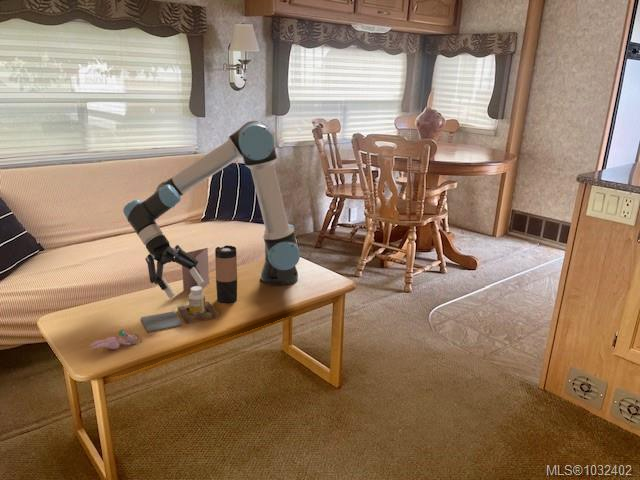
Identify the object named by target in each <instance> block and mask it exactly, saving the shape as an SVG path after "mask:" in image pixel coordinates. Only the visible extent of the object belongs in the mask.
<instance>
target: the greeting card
mask: <svg viewBox="0 0 640 480" xmlns="http://www.w3.org/2000/svg"><path fill="white" fill-rule="evenodd" d="M208 249H209V248H208V247H205V248H201V249H200V248H199V249H196V250H192V251H188V252H186V253H187V254H189V255H190V256H191V257H193V258H194V259H195V260H197V261H198V264H197V265H196V268H197V269H198V271H199V272H200V276H201V277H202V279H203V280H204V282H203V283H202V284H201V285H200V287H202V289H203V290H204V289H206V287H207V286H208V285H209V284H210V277H209V276H210V275H209V274H210V273H209V253H208V252H209V250H208ZM193 263H194V262H193ZM181 270H182V271H181V272H182V287H183V291H188V290H191V288H192V287H194V286H199V285H198V284H197V282H196V281H195V279H194V278H193V276H192V275H191V273H190V272H189V271H190V269H188V268H186V267H184V266H182V265H181Z"/></svg>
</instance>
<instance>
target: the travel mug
mask: <svg viewBox="0 0 640 480" xmlns="http://www.w3.org/2000/svg"><path fill="white" fill-rule="evenodd" d="M214 250H215V251H214V256H215V257H214V259H215V260H214V261H215V282H216V283H215V285H216V286H215V287H216V297H217V299H216V300H217V302H218V303H219V304H223V305H229V304H234V303H235V302H237V301H238V263H237V262H238V257H237V247H235V246H233V245H224V246H222V247H220V246H217V247H216V248H215V249H214Z"/></svg>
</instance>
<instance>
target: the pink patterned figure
mask: <svg viewBox="0 0 640 480" xmlns="http://www.w3.org/2000/svg"><path fill="white" fill-rule="evenodd" d="M123 331H124V329H120V330H118V331H117V332H118V334H117V335H118V336H120V337H119V338H117V337H116V336H109V337H107V338H105V339H98V340H95V341H93V342H92V343H91V344H90V345H89V348H90V349H91V350H93V349H94V350H95V349H97V348H106V349H107V350H118V349H119V348H120V345H124V346H125V345H128V346H129V345H136V344H137V343H138V341H139V340H140V342H142V341H143V338H142V337H140V336H139V334H135V333H134V334H132V335H131V334H128V333H127V332H123Z"/></svg>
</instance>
